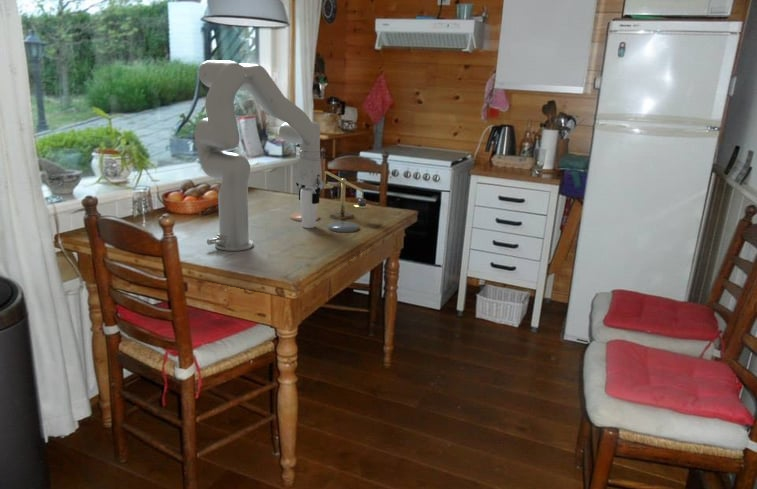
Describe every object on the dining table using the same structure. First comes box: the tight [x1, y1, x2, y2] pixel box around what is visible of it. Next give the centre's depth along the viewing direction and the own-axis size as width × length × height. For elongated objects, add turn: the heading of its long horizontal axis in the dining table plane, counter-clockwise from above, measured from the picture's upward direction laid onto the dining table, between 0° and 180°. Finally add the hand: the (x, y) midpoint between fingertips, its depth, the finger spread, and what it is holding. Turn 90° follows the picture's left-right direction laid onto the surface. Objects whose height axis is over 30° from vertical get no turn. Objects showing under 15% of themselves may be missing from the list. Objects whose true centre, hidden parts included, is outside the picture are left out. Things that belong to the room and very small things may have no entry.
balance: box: [322, 170, 371, 221], centre depth 231 cm, size 8×29×18 cm, turn 50°
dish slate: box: [327, 221, 359, 233], centre depth 217 cm, size 12×12×1 cm
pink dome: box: [289, 211, 320, 223], centre depth 229 cm, size 12×12×1 cm
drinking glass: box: [299, 187, 318, 229], centre depth 214 cm, size 7×7×15 cm
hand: (309, 201), depth 214 cm, fingers closed on drinking glass, 6 cm apart
